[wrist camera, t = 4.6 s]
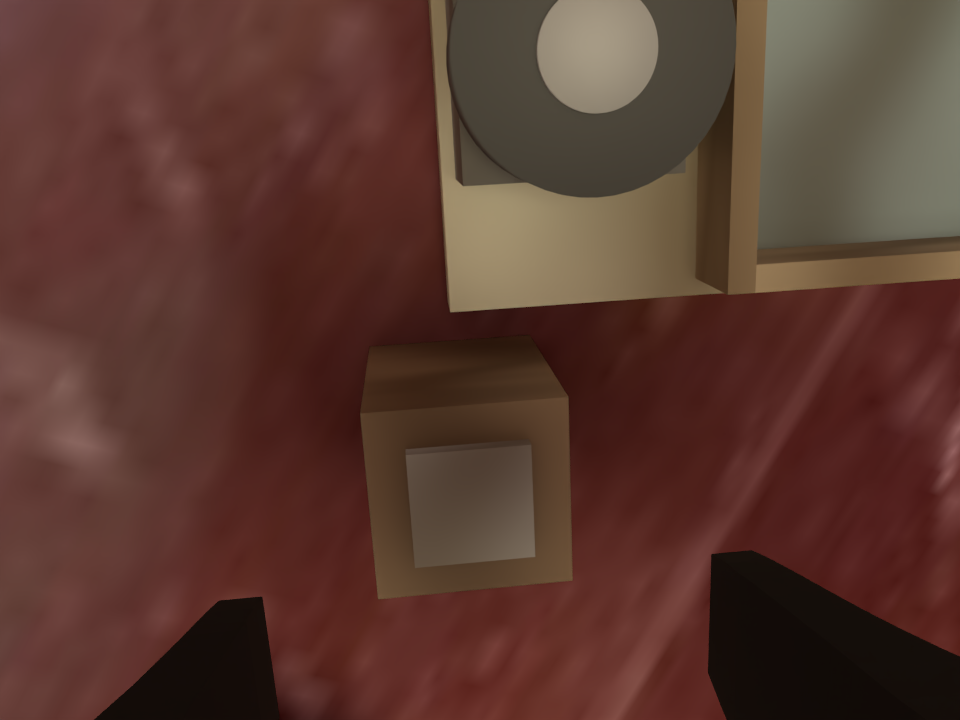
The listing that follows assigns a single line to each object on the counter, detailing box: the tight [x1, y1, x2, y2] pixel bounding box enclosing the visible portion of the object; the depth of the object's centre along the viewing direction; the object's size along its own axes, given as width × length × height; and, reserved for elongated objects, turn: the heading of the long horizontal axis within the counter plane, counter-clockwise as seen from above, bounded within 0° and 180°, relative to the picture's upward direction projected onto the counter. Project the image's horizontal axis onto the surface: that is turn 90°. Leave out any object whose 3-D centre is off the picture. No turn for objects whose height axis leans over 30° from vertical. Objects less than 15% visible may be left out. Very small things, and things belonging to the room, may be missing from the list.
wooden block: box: [360, 335, 573, 599], centre depth 18 cm, size 4×4×5 cm
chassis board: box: [428, 0, 960, 312], centre depth 18 cm, size 13×8×4 cm, turn 93°
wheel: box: [446, 0, 736, 198], centre depth 15 cm, size 5×5×4 cm
